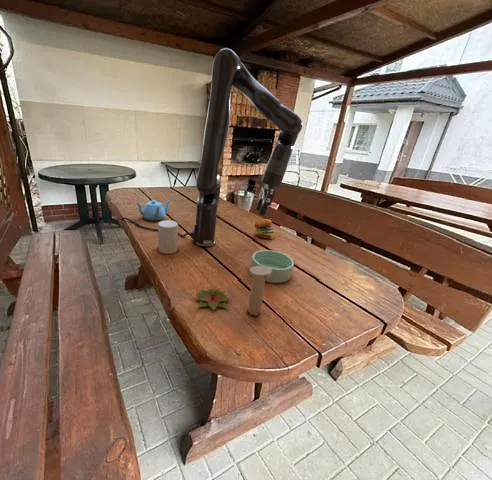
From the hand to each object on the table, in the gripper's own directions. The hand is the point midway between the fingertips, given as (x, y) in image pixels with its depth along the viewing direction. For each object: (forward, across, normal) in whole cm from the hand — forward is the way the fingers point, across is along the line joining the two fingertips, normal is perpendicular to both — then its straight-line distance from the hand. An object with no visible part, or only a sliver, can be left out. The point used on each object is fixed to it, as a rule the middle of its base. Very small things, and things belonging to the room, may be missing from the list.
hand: (259, 212), depth 104 cm
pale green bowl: (+20, +9, +10) cm, 24 cm away
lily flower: (+27, +29, -11) cm, 41 cm away
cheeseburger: (+15, -29, +13) cm, 35 cm away
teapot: (+27, -42, -46) cm, 68 cm away
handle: (+25, +33, +1) cm, 42 cm away
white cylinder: (+28, -5, -31) cm, 42 cm away
